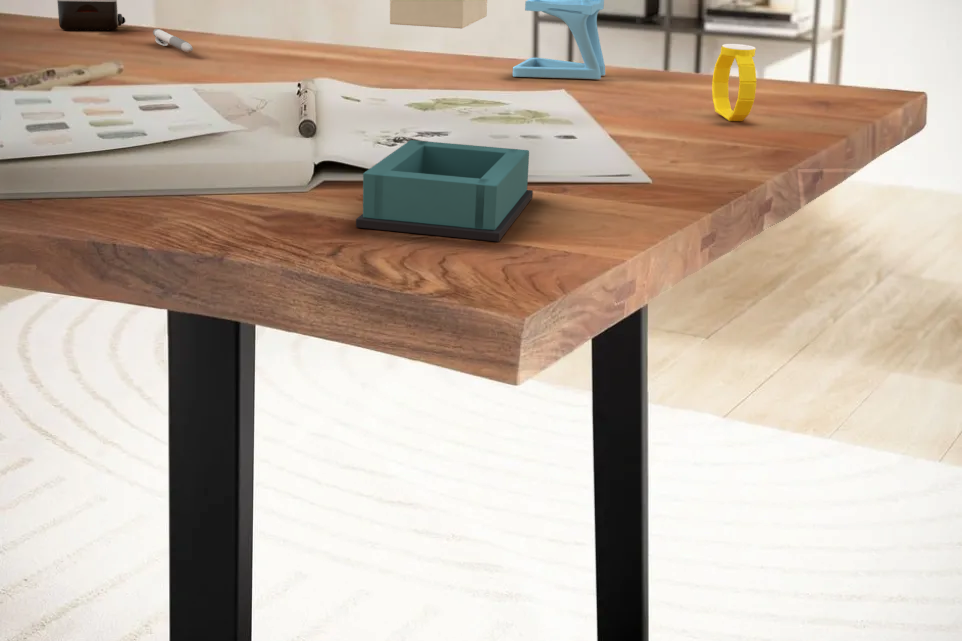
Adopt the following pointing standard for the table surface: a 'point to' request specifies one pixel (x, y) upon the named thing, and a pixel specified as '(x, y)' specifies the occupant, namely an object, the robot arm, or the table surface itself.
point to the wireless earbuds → (89, 15)
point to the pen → (171, 40)
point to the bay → (446, 190)
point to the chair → (578, 10)
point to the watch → (746, 80)
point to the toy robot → (437, 12)
